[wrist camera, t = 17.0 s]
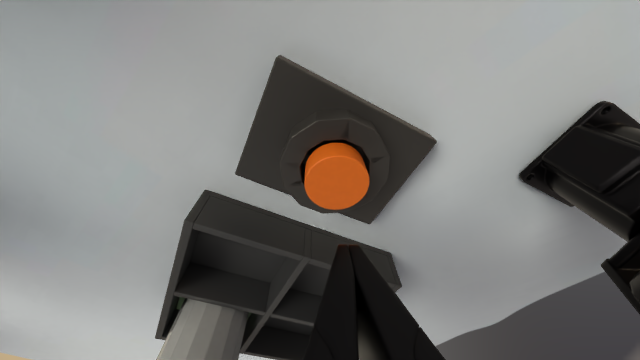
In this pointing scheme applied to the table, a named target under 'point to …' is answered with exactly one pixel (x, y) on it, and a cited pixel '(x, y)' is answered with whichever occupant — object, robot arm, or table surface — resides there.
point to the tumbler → (205, 333)
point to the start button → (336, 176)
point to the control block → (327, 138)
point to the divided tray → (257, 272)
